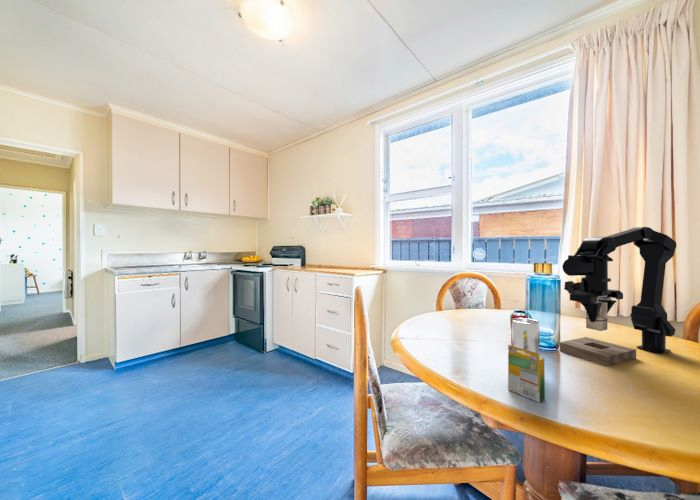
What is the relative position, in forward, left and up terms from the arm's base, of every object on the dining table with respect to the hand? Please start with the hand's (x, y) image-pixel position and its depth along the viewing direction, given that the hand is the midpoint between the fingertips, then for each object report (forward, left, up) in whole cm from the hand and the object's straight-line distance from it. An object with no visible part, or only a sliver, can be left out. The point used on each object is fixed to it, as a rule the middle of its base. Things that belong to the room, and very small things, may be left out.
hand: (596, 321), depth 94 cm
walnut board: (0, 0, -11) cm, 11 cm away
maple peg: (0, 0, -2) cm, 2 cm away
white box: (+34, 0, -12) cm, 36 cm away
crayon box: (+46, +9, -12) cm, 48 cm away
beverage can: (+17, -15, -12) cm, 25 cm away
